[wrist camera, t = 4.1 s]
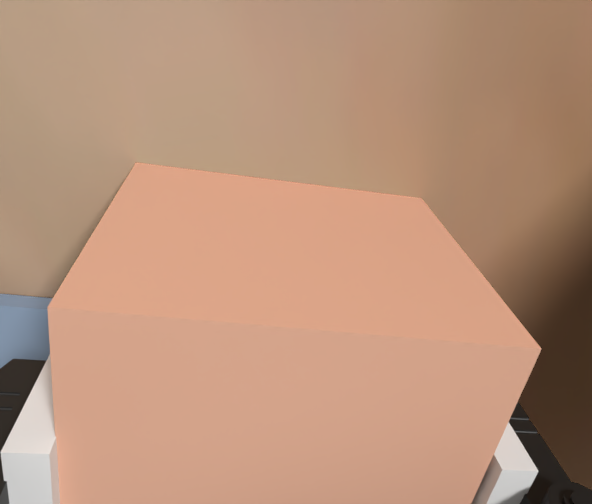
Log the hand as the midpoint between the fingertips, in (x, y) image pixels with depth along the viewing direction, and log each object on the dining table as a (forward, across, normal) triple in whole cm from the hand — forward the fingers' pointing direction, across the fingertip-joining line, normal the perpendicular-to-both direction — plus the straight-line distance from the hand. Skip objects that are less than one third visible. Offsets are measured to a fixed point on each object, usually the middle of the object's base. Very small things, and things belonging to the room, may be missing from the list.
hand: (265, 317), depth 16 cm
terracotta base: (+1, 0, 0) cm, 1 cm away
